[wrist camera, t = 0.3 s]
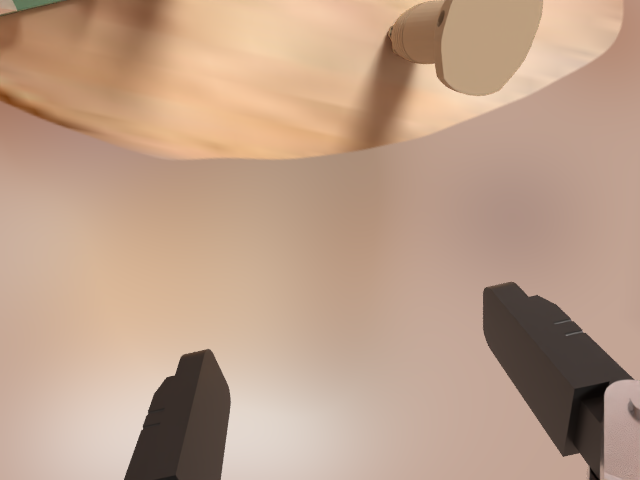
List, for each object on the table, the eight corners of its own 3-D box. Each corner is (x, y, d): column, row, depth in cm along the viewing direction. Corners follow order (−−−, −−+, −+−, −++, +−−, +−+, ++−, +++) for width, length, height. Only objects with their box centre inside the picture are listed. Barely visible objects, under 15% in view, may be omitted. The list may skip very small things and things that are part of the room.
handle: (369, 70, 33) (427, 86, 20) (388, -16, 31) (470, -63, 17) (420, 81, 34) (508, 103, 21) (443, -2, 32) (562, -37, 18)
